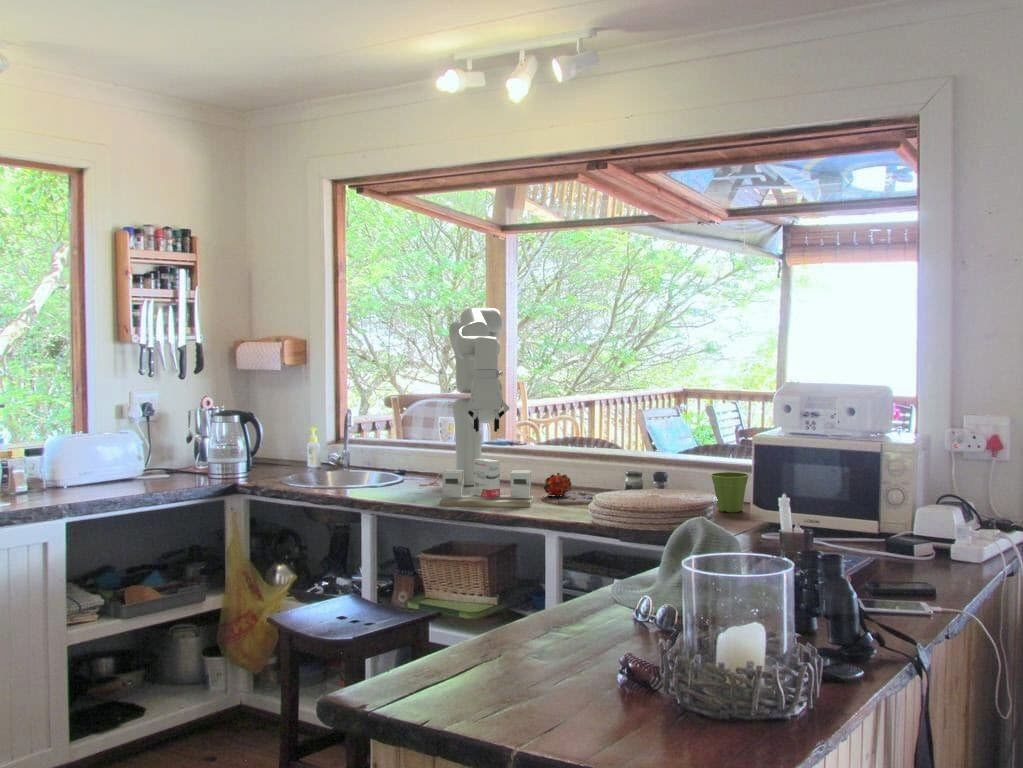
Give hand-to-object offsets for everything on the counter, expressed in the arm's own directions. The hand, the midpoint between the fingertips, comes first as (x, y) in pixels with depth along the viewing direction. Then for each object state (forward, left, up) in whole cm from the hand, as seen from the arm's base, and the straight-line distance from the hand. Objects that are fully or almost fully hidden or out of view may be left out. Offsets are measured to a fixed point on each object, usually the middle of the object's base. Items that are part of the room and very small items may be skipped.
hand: (486, 430), depth 311 cm
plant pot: (+9, +76, -24) cm, 80 cm away
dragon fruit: (-15, +22, -24) cm, 36 cm away
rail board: (0, 0, -23) cm, 23 cm away
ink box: (0, 0, -21) cm, 21 cm away
